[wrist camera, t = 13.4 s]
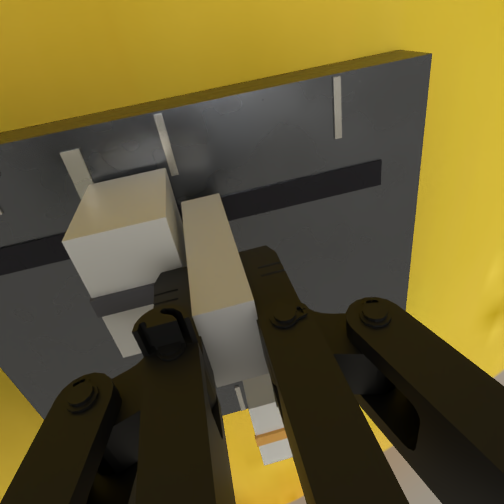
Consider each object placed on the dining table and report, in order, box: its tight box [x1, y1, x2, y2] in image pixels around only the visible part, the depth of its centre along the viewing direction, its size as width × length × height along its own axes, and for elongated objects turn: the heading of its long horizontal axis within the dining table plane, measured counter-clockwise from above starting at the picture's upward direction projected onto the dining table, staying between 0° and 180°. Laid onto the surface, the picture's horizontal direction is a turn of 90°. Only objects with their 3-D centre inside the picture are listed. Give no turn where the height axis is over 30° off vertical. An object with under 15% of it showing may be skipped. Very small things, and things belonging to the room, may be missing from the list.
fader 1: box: [62, 168, 187, 358], centre depth 14 cm, size 3×5×4 cm, turn 9°
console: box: [0, 50, 432, 420], centre depth 20 cm, size 22×19×2 cm
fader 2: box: [243, 373, 293, 465], centre depth 19 cm, size 3×5×5 cm, turn 9°
